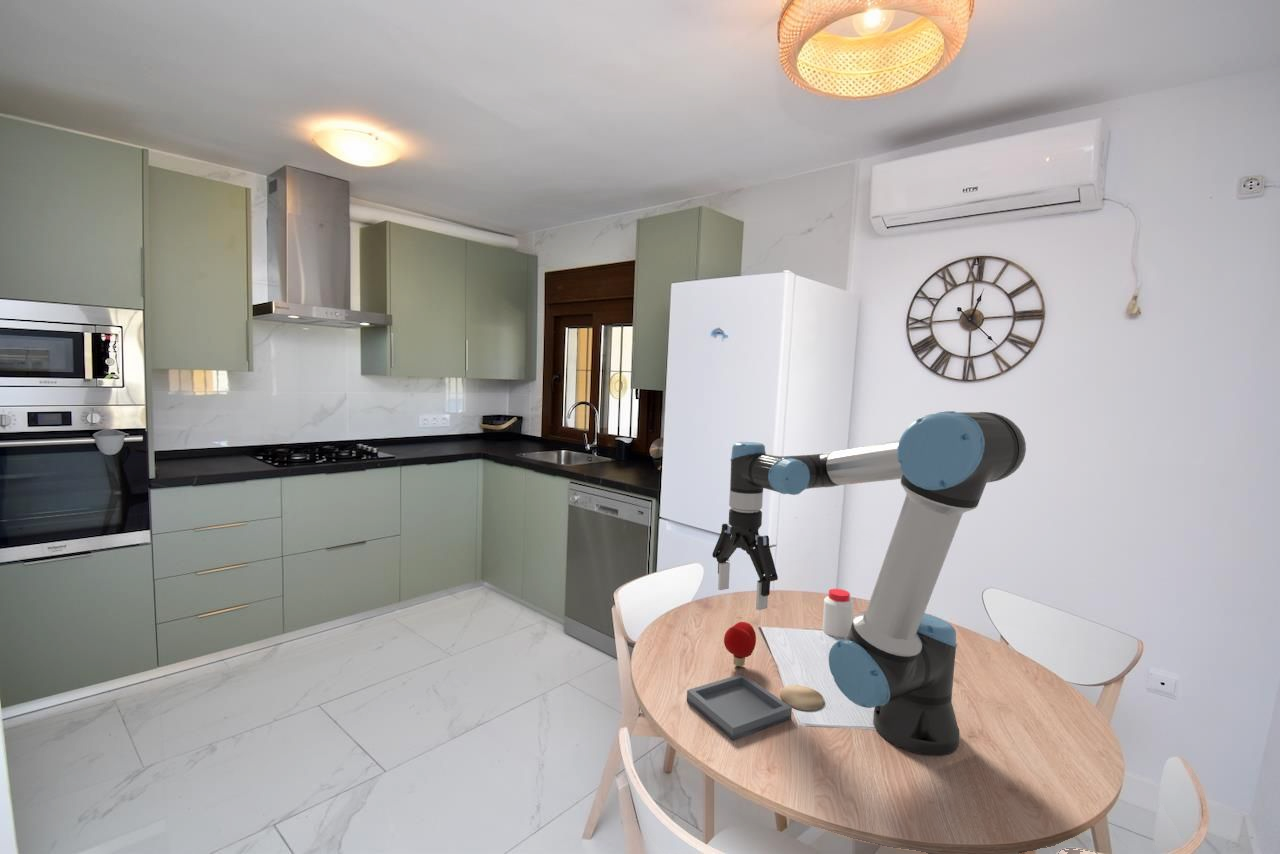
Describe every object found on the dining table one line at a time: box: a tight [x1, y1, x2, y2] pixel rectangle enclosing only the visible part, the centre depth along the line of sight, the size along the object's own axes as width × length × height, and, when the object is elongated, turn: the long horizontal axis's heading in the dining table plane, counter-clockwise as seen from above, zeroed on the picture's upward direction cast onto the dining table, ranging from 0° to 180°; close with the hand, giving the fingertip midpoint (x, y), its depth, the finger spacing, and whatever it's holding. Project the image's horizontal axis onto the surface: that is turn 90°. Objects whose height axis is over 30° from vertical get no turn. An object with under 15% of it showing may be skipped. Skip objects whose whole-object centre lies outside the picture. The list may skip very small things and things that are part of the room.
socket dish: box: [686, 673, 793, 741], centre depth 119 cm, size 15×15×2 cm
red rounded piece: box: [723, 621, 757, 668], centre depth 137 cm, size 9×7×10 cm
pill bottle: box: [821, 588, 855, 639], centre depth 158 cm, size 8×8×11 cm
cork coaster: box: [779, 684, 825, 711], centre depth 124 cm, size 9×9×1 cm
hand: (741, 598), depth 136 cm, fingers open, 13 cm apart
